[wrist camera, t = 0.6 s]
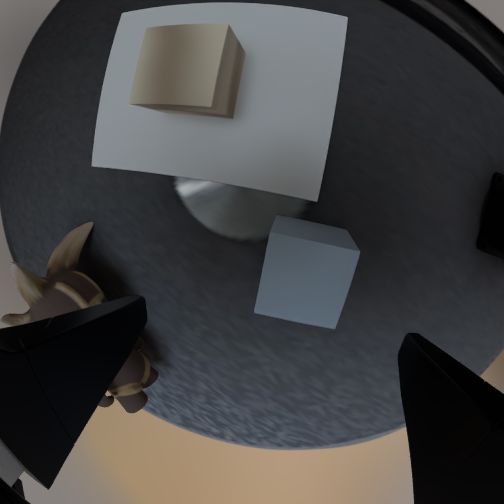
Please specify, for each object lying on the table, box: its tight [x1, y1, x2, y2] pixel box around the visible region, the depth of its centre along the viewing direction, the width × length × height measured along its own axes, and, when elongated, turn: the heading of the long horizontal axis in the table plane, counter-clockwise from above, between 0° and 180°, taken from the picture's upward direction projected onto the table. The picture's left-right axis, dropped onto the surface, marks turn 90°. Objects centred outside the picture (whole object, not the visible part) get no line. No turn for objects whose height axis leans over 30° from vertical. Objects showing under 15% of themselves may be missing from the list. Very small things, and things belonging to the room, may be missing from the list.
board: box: [92, 3, 348, 202], centre depth 17 cm, size 18×14×1 cm
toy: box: [1, 222, 158, 413], centre depth 20 cm, size 11×8×15 cm
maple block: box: [129, 24, 246, 119], centre depth 15 cm, size 5×5×5 cm
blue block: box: [254, 215, 360, 329], centre depth 18 cm, size 5×5×5 cm
